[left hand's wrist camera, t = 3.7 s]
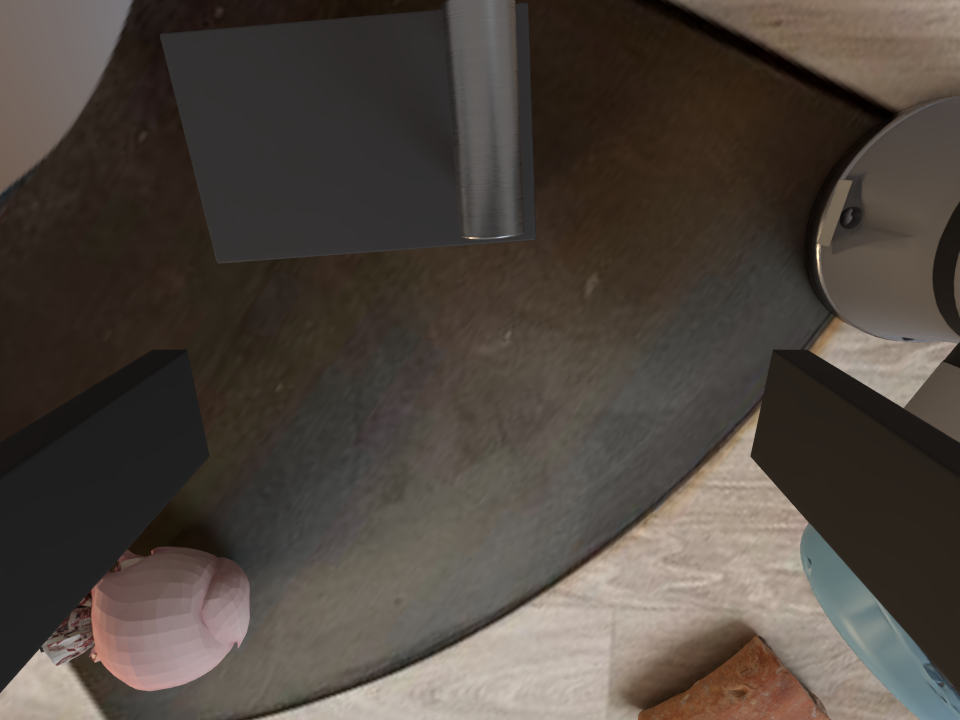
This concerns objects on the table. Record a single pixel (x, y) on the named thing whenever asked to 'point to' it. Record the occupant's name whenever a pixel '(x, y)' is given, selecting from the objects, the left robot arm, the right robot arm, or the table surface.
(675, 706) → the ceramic shard
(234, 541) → the table surface
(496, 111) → the lid
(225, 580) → the toy
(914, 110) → the left robot arm
